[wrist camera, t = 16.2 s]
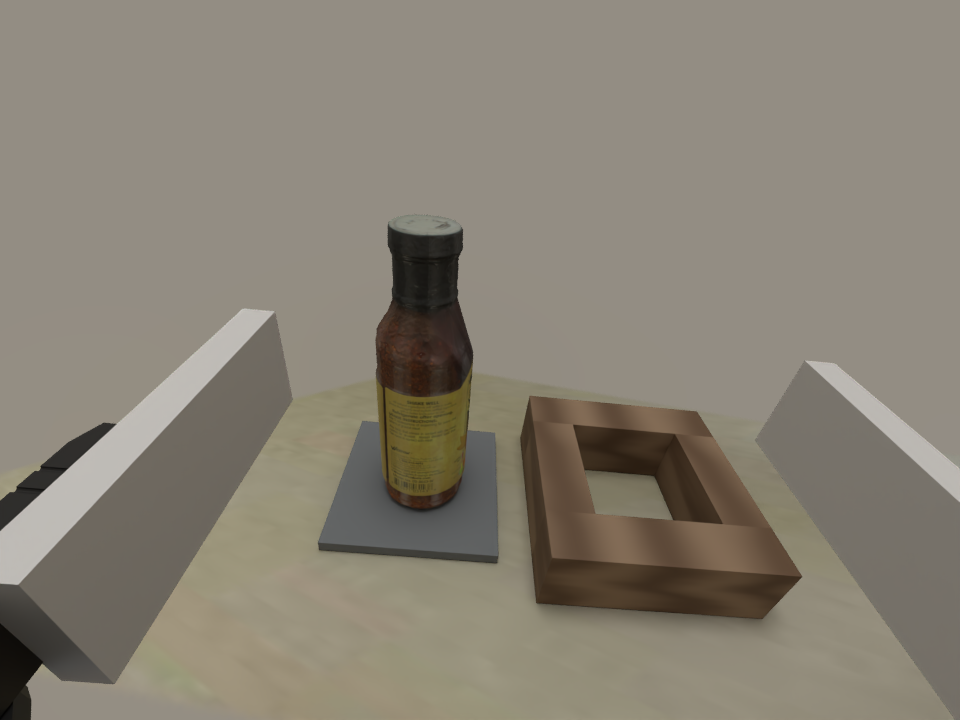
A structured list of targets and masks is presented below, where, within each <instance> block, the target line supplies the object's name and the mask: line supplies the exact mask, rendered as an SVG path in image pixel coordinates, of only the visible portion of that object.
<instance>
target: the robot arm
mask: <svg viewBox="0 0 960 720" xmlns="http://www.w3.org/2000/svg"><path fill="white" fill-rule="evenodd" d="M292 400H293V398H292V394H291V389H290V384H289V378H288V374H287V369H286V364H285V359H284V354H283V349H282V344H281V339H280V334H279V329H278V324H277V320H276V314H275V311H264V310H254V309H242V310H241V311H240V312H239V313H238V314H237V315H236V316H234V318H232V319H231V320H230V321H229V322H228V323H227V324H226V325H225V326H223V327H222V328H221V329H220V330H219V331H218V332H217V333H216V334H215V335H214V336H213V337H212V338H210V339H209V340H208V341H207V342H206V343H205V344H204V345H203V346H202V347H201V348H199V349H198V350H197V351H196V352H195V353H194V354H193V355H192V356H191V357H190V358H189V359H187V360H186V362H184V363H183V364H182V365H181V366H180V367H179V368H178V369H177V370H176V371H175V372H173V373H172V374H171V375H170V376H169V377H168V378H167V379H166V380H165V381H164V382H162V383H161V384H160V385H159V386H158V387H157V388H156V389H155V390H154V391H153V392H152V393H150V395H148V396H147V397H146V398H145V399H144V400H143V401H142V402H141V403H140V404H138V405H137V406H136V407H135V408H134V409H133V410H132V411H131V412H130V413H129V414H127V415H126V416H125V417H124V418H123V419H122V420H121V421H120V422H119V423H118V424H110V423H102V424H101V425H99V426H97V427H95V428H93V429H92V430H90V431H88V432H86V433H84V434H82V435H81V436H79V437H77V438H75V439H73V440H72V441H70V442H68V443H67V444H66V445H65V446H63V447H62V448H61V449H60V450H59V451H58V452H56V453H55V454H54V455H53V456H52V457H51V458H49V459H48V460H47V461H46V462H45V463H44V464H42V465H41V469H40V470H39V471H34V472H33V473H32V474H31V475H30V476H28V477H27V478H26V479H25V480H24V481H23V482H21V483H20V484H19V485H18V486H17V489H16V491H15V492H10V493H8V494H7V495H6V496H5V497H4V498H3V499H1V500H0V720H31V698H30V694H29V691H28V687H27V686H26V684H27V682H28V681H29V680H30V679H31V677H32V676H33V675H34V673H35V672H36V671H37V670H38V668H39V667H40V666H41V664H43V665H45V666H46V667H47V668H48V669H49V670H50V671H51V672H52V673H54V674H55V675H56V676H57V677H58V678H59V679H60V680H62V681H76V682H90V683H104V684H115V682H116V681H117V679H118V678H119V676H120V674H121V673H122V671H123V670H124V668H125V666H126V665H127V663H128V662H129V660H130V658H131V657H132V655H133V654H134V652H135V651H136V649H137V647H138V646H139V644H140V643H141V641H142V639H143V638H144V636H145V635H146V633H147V631H148V630H149V628H150V627H151V625H152V623H153V622H154V620H155V619H156V617H157V615H158V614H159V612H160V611H161V609H162V607H163V606H164V604H165V603H166V601H167V600H168V598H169V596H170V595H171V593H172V592H173V590H174V588H175V587H176V585H177V584H178V582H179V580H180V579H181V577H182V576H183V574H184V572H185V571H186V569H187V568H188V566H189V564H190V563H191V561H192V560H193V558H194V556H195V555H196V553H197V552H198V550H199V549H200V547H201V545H202V544H203V542H204V541H205V539H206V537H207V536H208V534H209V533H210V531H211V529H212V528H213V526H214V525H215V523H216V521H217V520H218V518H219V517H220V515H221V513H222V512H223V510H224V509H225V507H226V505H227V504H228V502H229V501H230V499H231V497H232V496H233V494H234V493H235V491H236V490H237V488H238V486H239V485H240V483H241V482H242V480H243V478H244V477H245V475H246V474H247V472H248V470H249V469H250V467H251V466H252V464H253V462H254V461H255V459H256V458H257V456H258V454H259V453H260V451H261V450H262V448H263V446H264V445H265V443H266V442H267V440H268V439H269V437H270V435H271V434H272V432H273V431H274V429H275V427H276V426H277V424H278V423H279V421H280V419H281V418H282V416H283V415H284V413H285V411H286V410H287V408H288V407H289V405H290V403H291V402H292ZM755 441H756V442H757V444H758V445H759V447H760V448H761V449H762V451H763V452H764V453H765V455H766V456H767V458H768V459H769V460H770V462H771V463H772V465H773V466H774V467H775V469H776V470H777V472H778V473H779V474H780V476H781V477H782V479H783V480H784V481H785V483H786V484H787V486H788V487H789V488H790V490H791V491H792V493H793V494H794V495H795V497H796V498H797V500H798V501H799V502H800V504H801V505H802V507H803V508H804V509H805V511H806V512H807V513H808V515H809V516H810V518H811V519H812V520H813V522H814V523H815V525H816V526H817V527H818V529H819V530H820V532H821V533H822V534H823V536H824V537H825V539H826V540H827V541H828V543H829V544H830V546H831V547H832V548H833V550H834V551H835V553H836V554H837V555H838V557H839V558H840V560H841V561H842V562H843V564H844V565H845V567H846V568H847V569H848V571H849V572H850V573H851V575H852V576H853V578H854V579H855V580H856V582H857V583H858V585H859V586H860V587H861V589H862V590H863V592H864V593H865V594H866V596H867V597H868V599H869V600H870V601H871V603H872V604H873V606H874V607H875V608H876V610H877V611H878V613H879V614H880V615H881V617H882V618H883V620H884V621H885V622H886V624H887V625H888V627H889V628H890V629H891V631H892V632H893V633H894V635H895V636H896V638H897V639H898V640H899V642H900V643H901V645H902V646H903V647H904V649H905V650H906V652H907V653H908V654H909V656H910V657H911V659H912V660H913V661H914V663H915V664H916V666H917V667H918V668H919V670H920V671H921V673H922V674H923V675H924V677H925V678H926V680H927V681H928V682H929V684H930V685H931V686H932V688H933V689H934V691H935V692H936V693H937V695H938V696H939V698H940V699H941V700H942V702H943V703H944V705H945V706H946V707H947V709H948V710H949V712H950V713H951V714H952V716H953V717H954V719H955V720H960V469H959V468H958V467H957V466H956V465H955V464H954V463H952V462H951V461H950V460H949V459H948V458H946V457H945V456H944V455H943V454H942V453H940V452H939V451H938V450H937V449H935V448H934V447H933V446H932V445H931V444H930V443H928V442H927V441H926V440H925V439H924V438H923V437H921V436H920V435H919V434H918V433H917V432H915V431H914V430H913V429H912V428H911V427H910V426H908V425H907V424H906V423H905V422H904V421H902V420H901V419H900V418H899V417H898V416H897V415H895V414H894V413H893V412H892V411H891V410H889V409H888V408H887V407H886V406H885V405H883V404H882V403H881V402H880V401H879V400H877V399H876V398H875V397H874V396H873V395H871V394H870V393H869V392H868V391H867V390H865V389H864V388H863V387H862V386H861V385H860V384H858V383H857V382H856V381H855V380H854V379H853V378H851V377H850V376H849V375H848V374H847V373H845V372H844V371H843V370H842V369H841V368H839V367H838V366H837V365H836V364H835V363H824V362H814V361H804V363H803V364H802V366H801V368H800V369H799V371H798V372H797V374H796V375H795V377H794V379H793V380H792V382H791V383H790V385H789V387H788V388H787V390H786V392H785V393H784V395H783V396H782V398H781V400H780V401H779V403H778V404H777V406H776V408H775V409H774V411H773V412H772V414H771V416H770V417H769V419H768V420H767V422H766V424H765V425H764V427H763V428H762V430H761V432H760V433H759V435H758V436H757V438H756V440H755Z"/></svg>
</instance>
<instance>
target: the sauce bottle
mask: <svg viewBox="0 0 960 720" xmlns="http://www.w3.org/2000/svg"><path fill="white" fill-rule="evenodd" d="M462 241H463V229H462V227H461V225H460V224H459V223H457V222H456V221H454V220H452V219H448V218H443V217H438V216H430V215H406V216H400V217H397V218H394V219H392V220H391V221H389V223H388V247H389V248H390V252H391V254H392V266H393V268H392V269H393V270H392V271H393V288H392V297H393V298H392V301H391V305H390V306H389V309H388V312H387V313H386V314H385V315H384V317H383V319H382V320H381V322H380V323H379V325H378V328H377V336H376V355H377V369H376V385H377V400H378V415H379V430H380V446H381V462H382V473H383V476H384V479H385V484H386V487H387V489H388V491H389V494H390V495H391V497H392V498H393V499H394V500H396V501H397V502H399V503H400V504H403V505H405V506H409V507H411V508H415V509H426V508H428V509H431V508H433V507H436V506H439V505H442V504H443V503H445V502H447V501H448V500H449V499H451V498H452V497H453V496H454V495H455V494H456V492H457V490H458V488H459V485H460V483H461V480H462V474H463V471H464V468H465V454H466V441H467V429H468V419H469V405H470V390H471V379H472V365H473V350H472V346H471V343H470V339H469V337H468V333H467V330H466V326H465V323H464V319H463V316H462V312H461V309H460V305H459V302H458V298H457V296H458V289H457V279H458V260H459V259H458V257H459V255H460V253H461V251H462V249H463V243H462Z"/></svg>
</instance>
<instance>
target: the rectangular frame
mask: <svg viewBox="0 0 960 720" xmlns="http://www.w3.org/2000/svg"><path fill="white" fill-rule="evenodd" d="M521 448H522V459H523V469H524V479H525V490H526V500H527V511H528V521H529V532H530V542H531V552H532V563H533V573H534V584H535V594H536V603H545V604H559V605H573V606H587V607H602V608H616V609H630V610H645V611H659V612H673V613H687V614H702V615H716V616H730V617H744V618H759V619H763V618H764V617H765V615H766V614H767V613H768V612H769V611H770V610H771V609H772V608H773V607H774V606H775V605H776V604H777V603H778V602H779V601H780V600H781V599H782V598H783V597H784V595H785V594H786V593H787V592H788V591H789V590H790V589H791V588H792V587H793V586H794V585H795V584H796V583H797V582H798V581H799V580H800V579H801V578H802V575H801V574H800V572H799V571H798V569H797V568H796V566H795V564H794V563H793V561H792V560H791V558H790V557H789V555H788V553H787V552H786V550H785V549H784V547H783V546H782V544H781V543H780V541H779V539H778V538H777V536H776V535H775V533H774V532H773V530H772V528H771V527H770V525H769V524H768V522H767V521H766V519H765V518H764V516H763V514H762V513H761V511H760V510H759V508H758V507H757V505H756V503H755V502H754V500H753V499H752V497H751V496H750V494H749V492H748V491H747V489H746V488H745V486H744V485H743V483H742V482H741V480H740V478H739V477H738V475H737V474H736V472H735V471H734V469H733V467H732V466H731V464H730V463H729V461H728V460H727V458H726V456H725V455H724V453H723V452H722V450H721V449H720V447H719V446H718V444H717V442H716V441H715V439H714V438H713V436H712V435H711V433H710V431H709V430H708V428H707V427H706V425H705V424H704V422H703V420H702V419H701V417H700V416H699V414H698V413H697V412H695V411H685V410H674V409H664V408H653V407H642V406H632V405H621V404H610V403H600V402H589V401H579V400H568V399H557V398H547V397H536V396H530V397H529V401H528V406H527V411H526V415H525V420H524V424H523V429H522V433H521ZM584 469H586V470H597V471H609V472H621V473H632V474H644V475H655V478H656V480H657V482H658V485H659V487H660V489H661V492H662V494H663V496H664V499H665V501H666V503H667V506H668V508H669V510H670V513H671V515H672V517H673V520H663V519H650V518H638V517H626V516H613V515H601V514H595V510H594V506H593V502H592V498H591V494H590V490H589V486H588V482H587V479H586V475H585V471H584Z"/></svg>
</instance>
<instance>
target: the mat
mask: <svg viewBox="0 0 960 720" xmlns="http://www.w3.org/2000/svg"><path fill="white" fill-rule="evenodd" d="M318 546H319V550H331V551H344V552H357V553H371V554H384V555H398V556H411V557H425V558H438V559H452V560H465V561H478V562H492V563H497V559H498V527H497V487H496V447H495V433H491V432H480V431H468V430H467V441H466V454H465V468H464V471H463V474H462V480H461V483H460V485H459V488H458V490H457V492H456V494H455V495H454V496H453V497H452V498H451V499H449V500H448V501H447V502H445V503H443V504H442V505H439V506H436V507H433V508H431V509H428V508H426V509H415V508H411V507H409V506H405V505H403V504H400V503H399V502H397V501H396V500H394V499H393V498H392V497H391V495H390V494H389V491H388V489H387V487H386V484H385V479H384V476H383V473H382V462H381V446H380V430H379V422H368V421H362V424H361V426H360V429H359V432H358V435H357V437H356V440H355V443H354V445H353V448H352V451H351V454H350V456H349V459H348V462H347V465H346V467H345V470H344V473H343V476H342V478H341V481H340V484H339V486H338V489H337V492H336V495H335V497H334V500H333V503H332V506H331V508H330V511H329V514H328V517H327V519H326V522H325V525H324V527H323V530H322V533H321V536H320V538H319V541H318Z"/></svg>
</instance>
